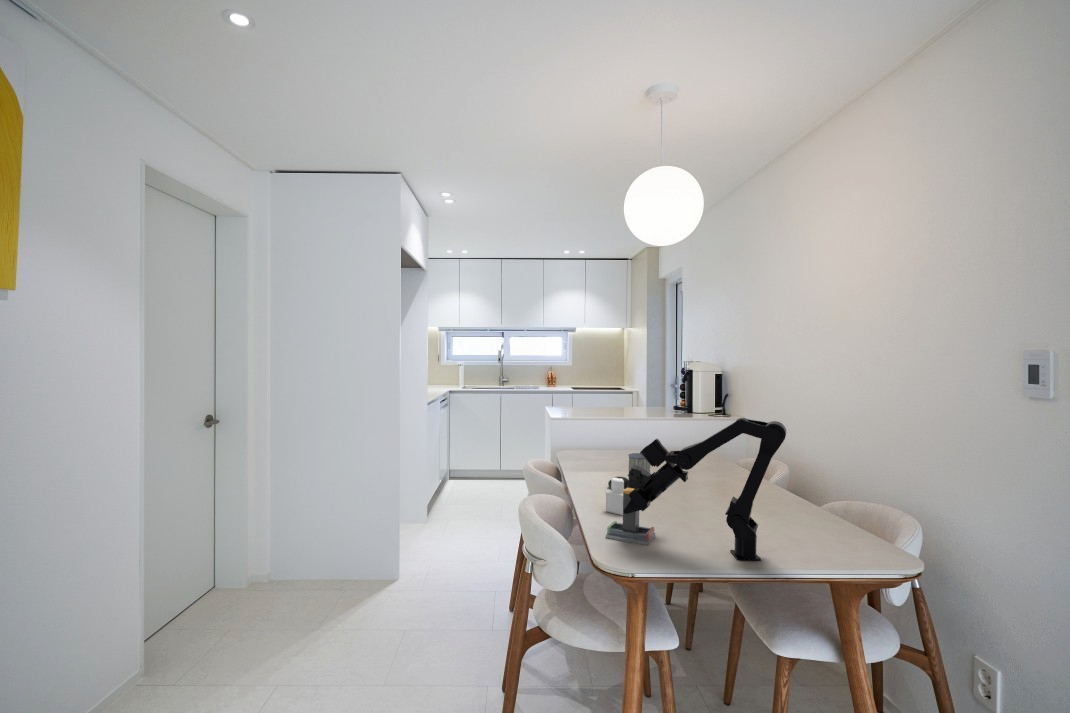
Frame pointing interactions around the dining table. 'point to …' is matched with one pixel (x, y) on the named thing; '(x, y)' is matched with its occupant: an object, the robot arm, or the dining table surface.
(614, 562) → the dining table surface
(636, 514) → the block
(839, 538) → the dining table surface
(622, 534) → the grey rectangular tray
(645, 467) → the milk frother
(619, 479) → the medicine bottle
